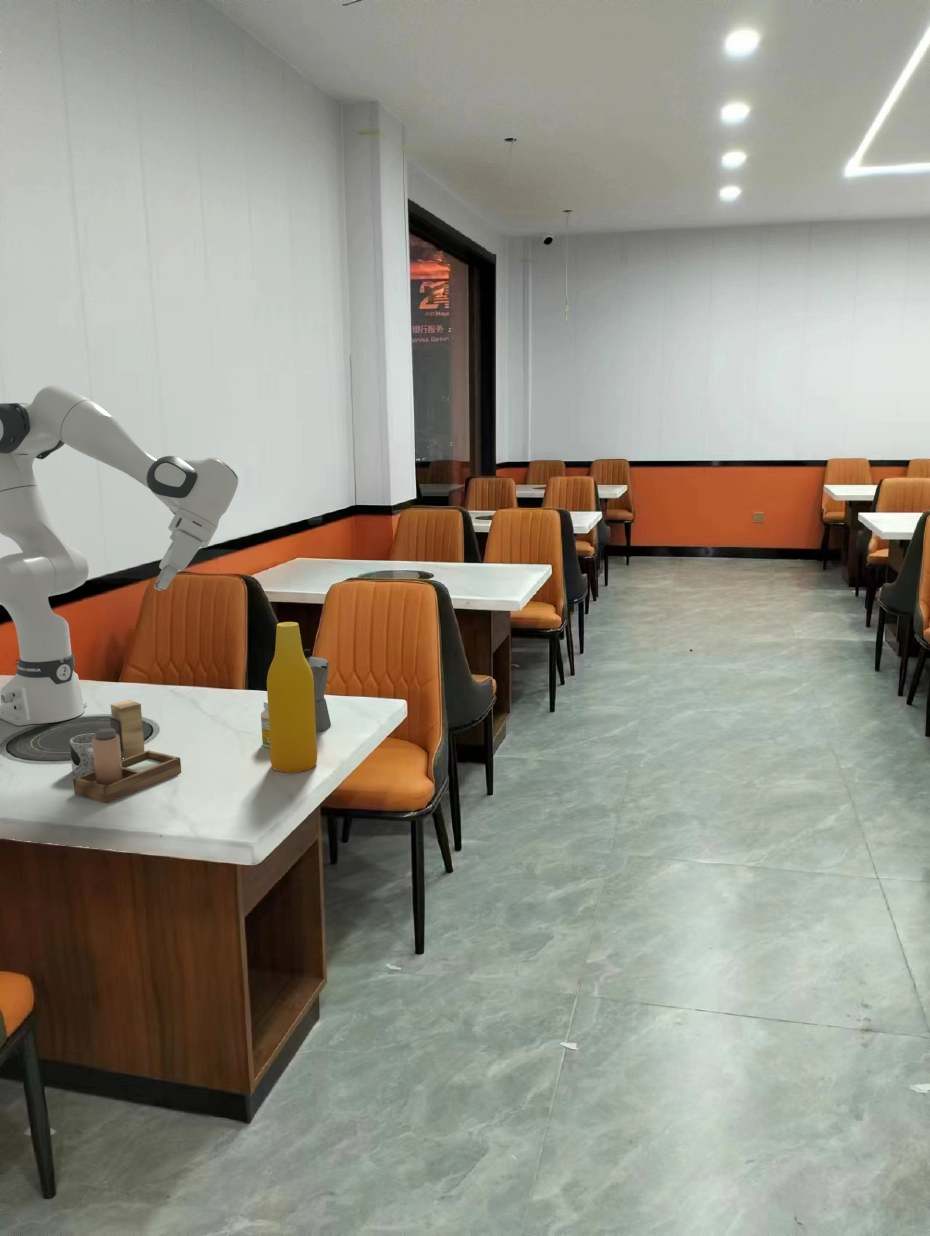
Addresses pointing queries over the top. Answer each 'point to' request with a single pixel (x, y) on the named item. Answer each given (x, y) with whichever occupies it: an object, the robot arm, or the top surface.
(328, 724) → the coffeepot
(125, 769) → the wooden tray
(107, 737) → the terracotta shaker
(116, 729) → the oak block
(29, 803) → the top surface
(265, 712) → the supplement bottle
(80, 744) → the mug
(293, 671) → the beer bottle
